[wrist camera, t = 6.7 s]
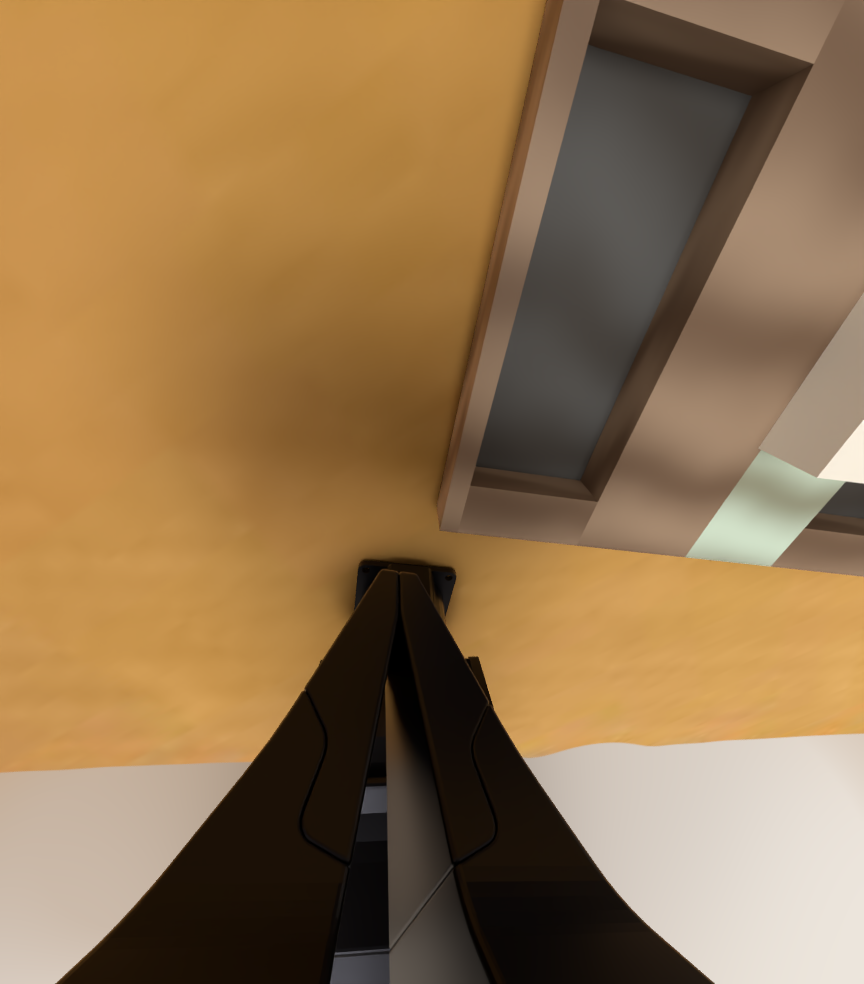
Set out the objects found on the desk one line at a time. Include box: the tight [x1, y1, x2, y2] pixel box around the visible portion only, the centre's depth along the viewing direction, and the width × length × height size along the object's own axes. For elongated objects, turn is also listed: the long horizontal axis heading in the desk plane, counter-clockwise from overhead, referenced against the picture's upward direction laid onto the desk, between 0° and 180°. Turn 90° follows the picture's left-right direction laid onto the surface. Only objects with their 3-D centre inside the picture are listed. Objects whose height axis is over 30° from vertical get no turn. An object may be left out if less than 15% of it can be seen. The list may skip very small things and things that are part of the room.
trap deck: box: [437, 0, 864, 577], centre depth 17 cm, size 22×30×2 cm
